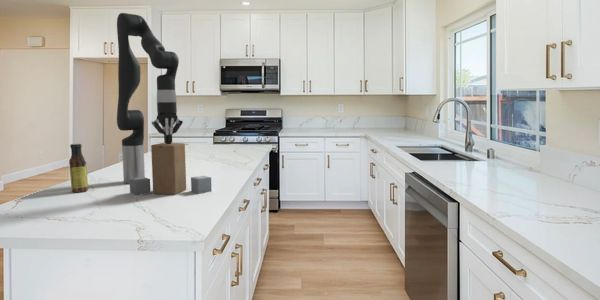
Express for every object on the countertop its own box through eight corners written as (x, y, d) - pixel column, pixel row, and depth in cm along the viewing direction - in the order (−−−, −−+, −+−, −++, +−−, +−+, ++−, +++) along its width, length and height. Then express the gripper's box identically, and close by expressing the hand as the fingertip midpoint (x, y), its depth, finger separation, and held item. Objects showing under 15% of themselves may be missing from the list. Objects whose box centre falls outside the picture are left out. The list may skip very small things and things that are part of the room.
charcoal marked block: (130, 193, 174) (129, 178, 173) (144, 191, 178) (143, 176, 178) (136, 195, 170) (135, 180, 169) (150, 193, 174) (149, 178, 173)
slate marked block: (191, 191, 178) (190, 176, 177) (204, 189, 182) (203, 174, 181) (198, 193, 173) (198, 178, 172) (211, 191, 177) (211, 176, 176)
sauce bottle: (91, 190, 179) (88, 143, 177) (78, 193, 174) (75, 145, 171) (80, 189, 182) (78, 142, 180) (67, 192, 176) (64, 144, 174)
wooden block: (175, 195, 171) (173, 145, 168) (152, 194, 173) (150, 144, 170) (186, 190, 180) (185, 143, 178) (165, 189, 182) (163, 142, 180)
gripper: (177, 101, 179) (178, 142, 181) (146, 101, 170) (148, 144, 172) (186, 101, 174) (187, 143, 176) (154, 101, 165) (156, 145, 167)
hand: (168, 143), depth 174 cm, fingers closed
